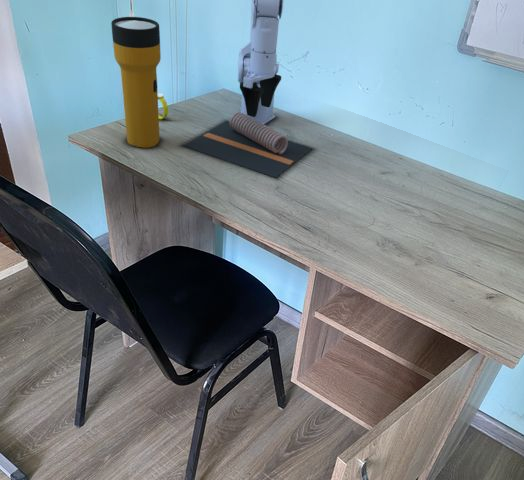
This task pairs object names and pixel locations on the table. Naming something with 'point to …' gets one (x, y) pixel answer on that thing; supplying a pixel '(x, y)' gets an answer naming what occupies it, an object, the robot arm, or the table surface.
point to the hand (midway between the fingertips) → (258, 110)
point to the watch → (161, 98)
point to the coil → (259, 133)
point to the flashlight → (138, 76)
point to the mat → (246, 151)
